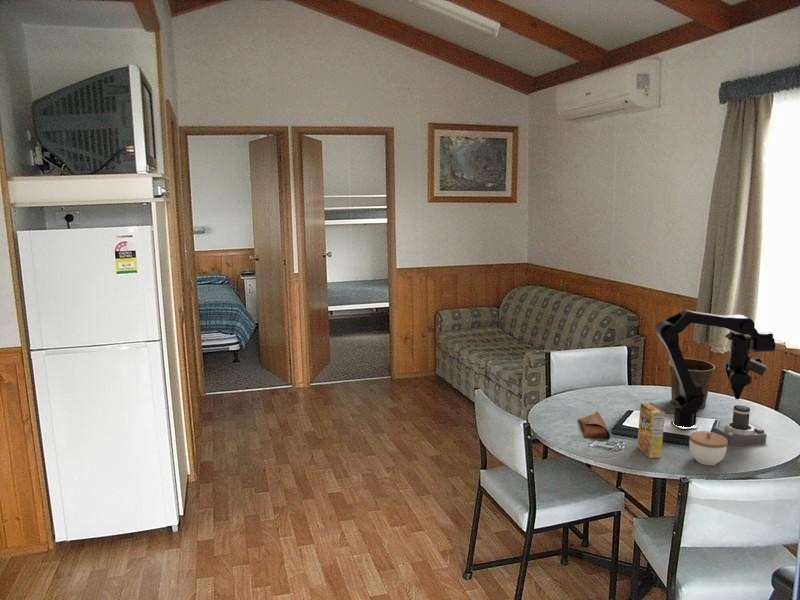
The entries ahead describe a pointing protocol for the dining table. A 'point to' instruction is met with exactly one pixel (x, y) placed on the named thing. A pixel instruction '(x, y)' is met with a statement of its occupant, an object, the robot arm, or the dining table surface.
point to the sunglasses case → (594, 427)
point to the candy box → (651, 430)
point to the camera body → (741, 434)
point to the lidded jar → (707, 447)
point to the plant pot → (693, 377)
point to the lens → (740, 417)
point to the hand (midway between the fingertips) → (735, 394)
